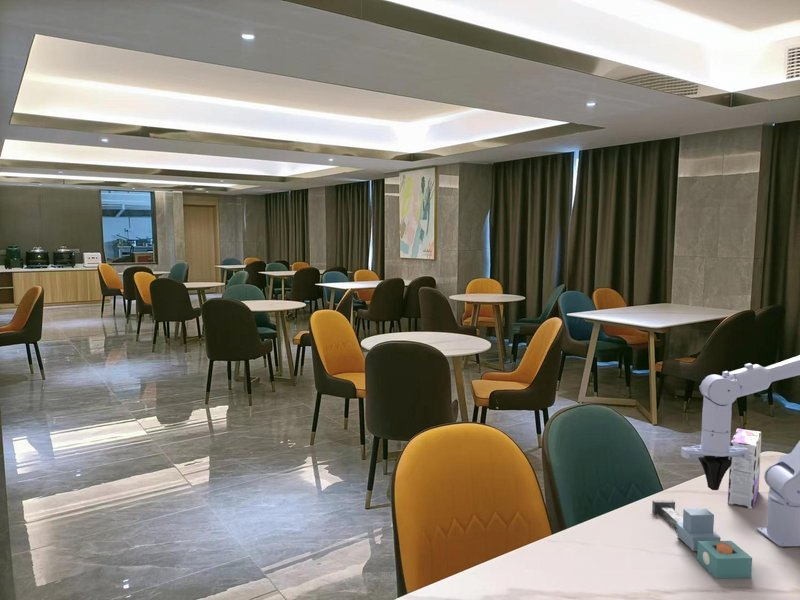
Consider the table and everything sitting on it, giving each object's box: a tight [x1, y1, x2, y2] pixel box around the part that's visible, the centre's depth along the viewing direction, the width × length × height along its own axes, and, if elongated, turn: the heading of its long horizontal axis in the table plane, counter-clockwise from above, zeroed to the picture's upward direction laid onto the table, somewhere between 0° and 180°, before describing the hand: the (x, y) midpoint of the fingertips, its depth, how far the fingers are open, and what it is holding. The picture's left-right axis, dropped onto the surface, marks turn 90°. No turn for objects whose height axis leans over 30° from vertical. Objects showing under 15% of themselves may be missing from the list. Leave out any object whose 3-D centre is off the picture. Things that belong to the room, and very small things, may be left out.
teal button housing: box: [696, 540, 753, 579], centre depth 121 cm, size 7×7×4 cm
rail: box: [651, 499, 683, 531], centre depth 136 cm, size 5×21×3 cm, turn 2°
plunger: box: [716, 543, 732, 554], centre depth 121 cm, size 3×3×4 cm
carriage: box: [676, 508, 721, 552], centre depth 131 cm, size 6×7×7 cm
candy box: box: [727, 428, 762, 510], centre depth 155 cm, size 14×6×16 cm, turn 144°
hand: (713, 488), depth 135 cm, fingers closed
